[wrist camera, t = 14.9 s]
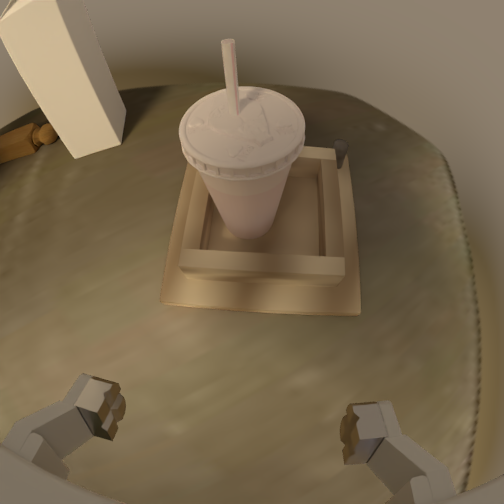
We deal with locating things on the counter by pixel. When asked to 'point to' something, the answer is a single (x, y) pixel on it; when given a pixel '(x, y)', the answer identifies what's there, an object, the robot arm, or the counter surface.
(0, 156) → the tap handle
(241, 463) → the counter surface
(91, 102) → the milk
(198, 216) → the holder
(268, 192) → the smoothie
